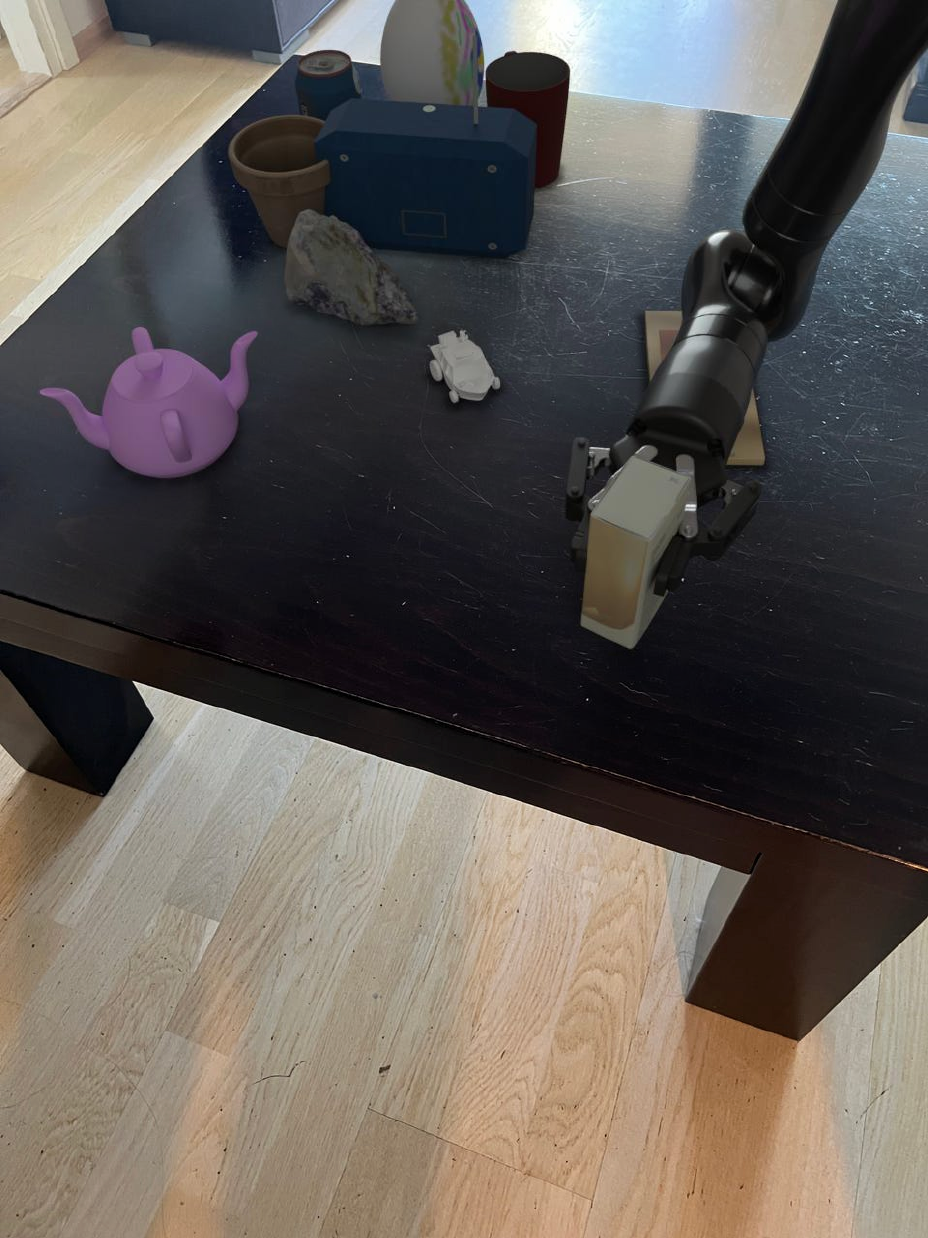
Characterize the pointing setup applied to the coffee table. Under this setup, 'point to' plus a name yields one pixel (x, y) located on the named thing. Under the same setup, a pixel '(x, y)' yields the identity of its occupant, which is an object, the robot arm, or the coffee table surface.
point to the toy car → (462, 367)
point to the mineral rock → (342, 274)
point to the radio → (431, 175)
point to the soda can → (325, 82)
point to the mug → (534, 101)
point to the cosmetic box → (630, 549)
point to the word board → (658, 343)
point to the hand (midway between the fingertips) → (620, 575)
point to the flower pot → (281, 170)
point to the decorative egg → (430, 52)
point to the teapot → (164, 409)
